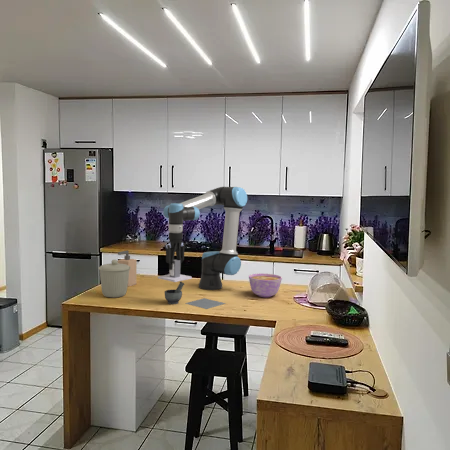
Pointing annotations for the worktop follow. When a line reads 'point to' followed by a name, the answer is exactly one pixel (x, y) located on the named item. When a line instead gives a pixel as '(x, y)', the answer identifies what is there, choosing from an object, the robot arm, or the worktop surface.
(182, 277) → the cover board
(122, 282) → the canister
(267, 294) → the bowl of food
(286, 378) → the worktop surface
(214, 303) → the mat
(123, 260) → the soap dispenser
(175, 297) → the mortar and pestle
